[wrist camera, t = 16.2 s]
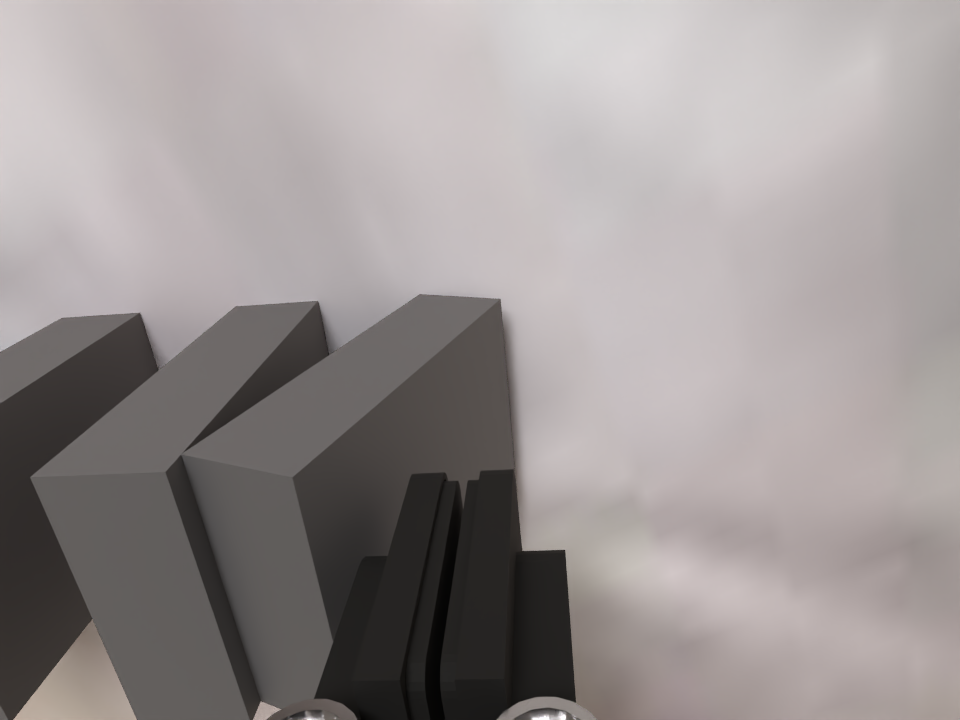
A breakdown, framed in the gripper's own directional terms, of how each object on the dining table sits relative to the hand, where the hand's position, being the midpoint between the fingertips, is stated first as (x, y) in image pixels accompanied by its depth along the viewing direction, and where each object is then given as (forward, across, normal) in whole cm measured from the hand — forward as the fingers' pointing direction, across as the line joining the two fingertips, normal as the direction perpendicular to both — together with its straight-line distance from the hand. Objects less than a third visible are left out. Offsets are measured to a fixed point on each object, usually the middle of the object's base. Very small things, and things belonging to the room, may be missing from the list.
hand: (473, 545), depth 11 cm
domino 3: (+5, 0, 0) cm, 5 cm away
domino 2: (+6, +5, 0) cm, 7 cm away
